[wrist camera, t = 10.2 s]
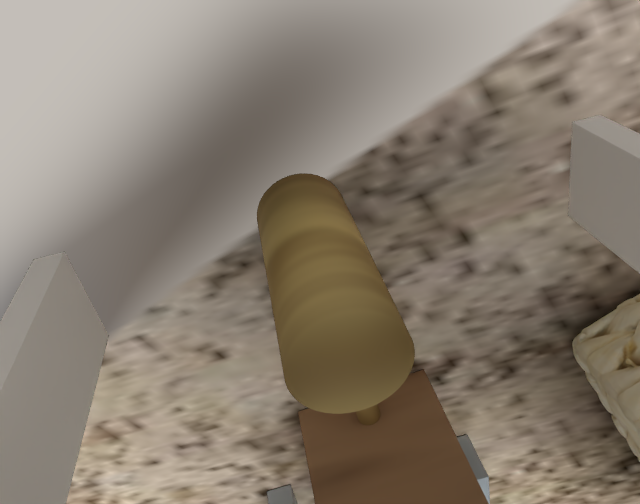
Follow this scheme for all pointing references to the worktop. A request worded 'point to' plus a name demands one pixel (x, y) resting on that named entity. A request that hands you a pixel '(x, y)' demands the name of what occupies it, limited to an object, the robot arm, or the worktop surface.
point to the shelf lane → (284, 499)
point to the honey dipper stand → (352, 360)
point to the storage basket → (615, 366)
